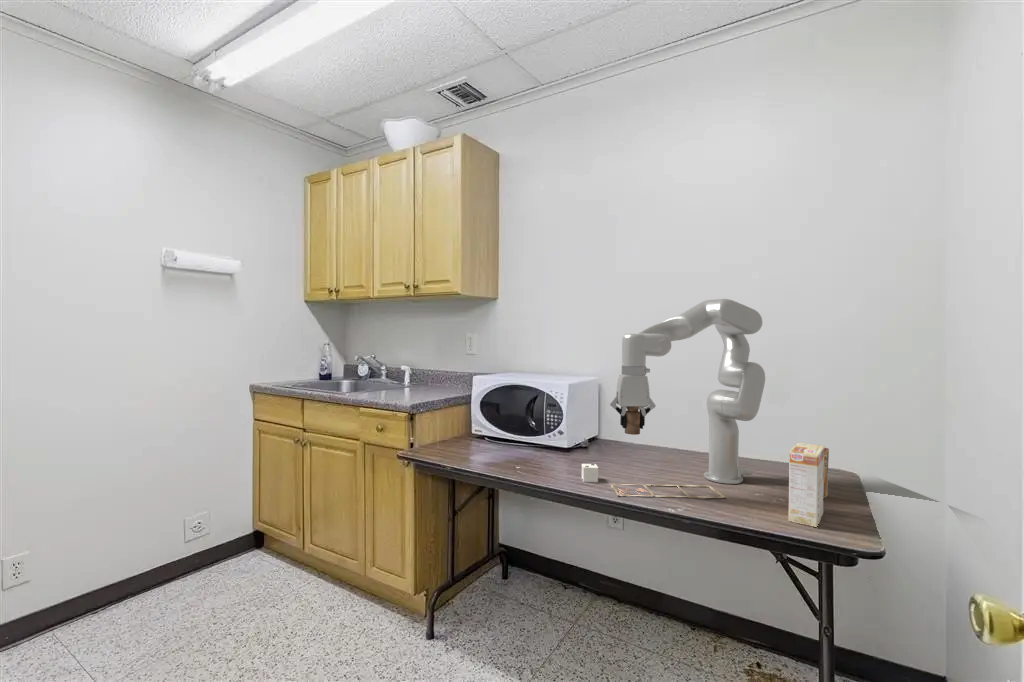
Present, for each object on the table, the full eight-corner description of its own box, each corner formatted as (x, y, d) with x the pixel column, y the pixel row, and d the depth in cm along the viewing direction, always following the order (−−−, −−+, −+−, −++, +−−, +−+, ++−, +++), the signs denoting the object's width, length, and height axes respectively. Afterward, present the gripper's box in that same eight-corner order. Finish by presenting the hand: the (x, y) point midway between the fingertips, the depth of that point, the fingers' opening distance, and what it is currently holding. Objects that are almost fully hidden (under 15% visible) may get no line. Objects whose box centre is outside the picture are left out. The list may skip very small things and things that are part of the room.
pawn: (637, 431, 154) (638, 400, 154) (641, 434, 149) (642, 402, 149) (623, 431, 154) (623, 400, 154) (626, 434, 150) (627, 402, 149)
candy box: (812, 492, 153) (813, 445, 153) (828, 495, 150) (829, 448, 150) (806, 499, 147) (807, 450, 146) (822, 502, 144) (823, 452, 144)
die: (595, 478, 166) (595, 463, 166) (598, 482, 161) (598, 467, 161) (581, 477, 166) (581, 463, 166) (583, 482, 161) (583, 467, 161)
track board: (710, 486, 158) (710, 485, 158) (726, 498, 146) (726, 497, 146) (610, 485, 158) (610, 483, 158) (617, 496, 146) (617, 495, 146)
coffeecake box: (795, 507, 140) (797, 441, 139) (824, 513, 135) (825, 445, 135) (786, 522, 128) (788, 450, 128) (817, 529, 124) (819, 455, 123)
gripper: (656, 371, 155) (655, 426, 156) (605, 370, 156) (603, 425, 156) (663, 373, 148) (662, 430, 148) (609, 372, 148) (608, 429, 148)
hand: (632, 427), depth 152 cm, fingers closed on pawn, 4 cm apart
